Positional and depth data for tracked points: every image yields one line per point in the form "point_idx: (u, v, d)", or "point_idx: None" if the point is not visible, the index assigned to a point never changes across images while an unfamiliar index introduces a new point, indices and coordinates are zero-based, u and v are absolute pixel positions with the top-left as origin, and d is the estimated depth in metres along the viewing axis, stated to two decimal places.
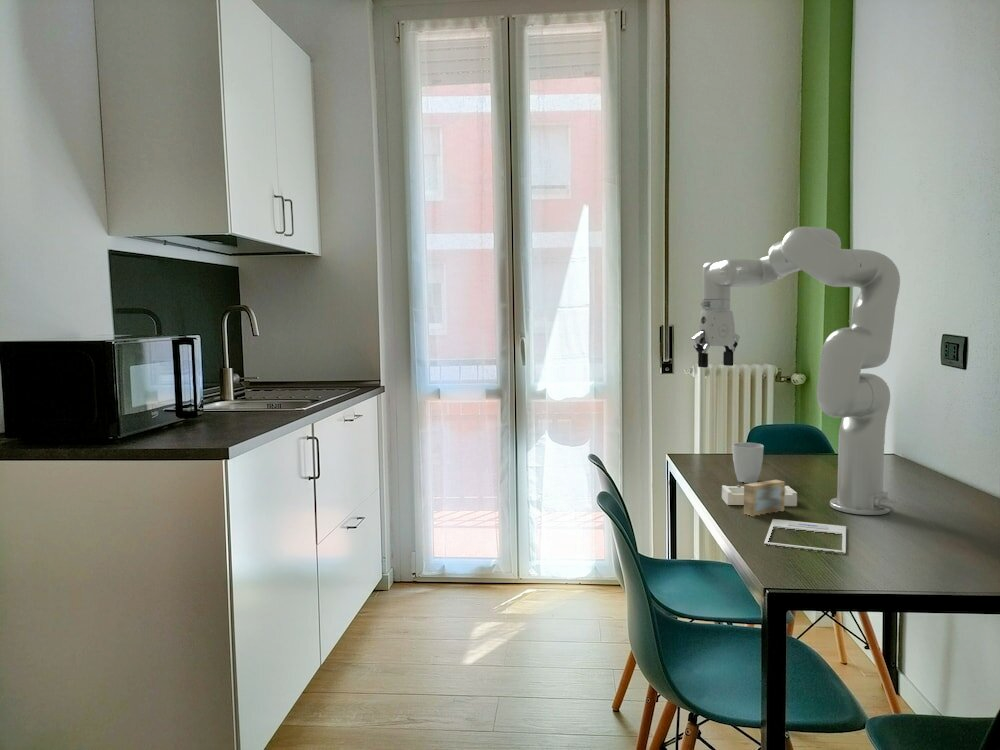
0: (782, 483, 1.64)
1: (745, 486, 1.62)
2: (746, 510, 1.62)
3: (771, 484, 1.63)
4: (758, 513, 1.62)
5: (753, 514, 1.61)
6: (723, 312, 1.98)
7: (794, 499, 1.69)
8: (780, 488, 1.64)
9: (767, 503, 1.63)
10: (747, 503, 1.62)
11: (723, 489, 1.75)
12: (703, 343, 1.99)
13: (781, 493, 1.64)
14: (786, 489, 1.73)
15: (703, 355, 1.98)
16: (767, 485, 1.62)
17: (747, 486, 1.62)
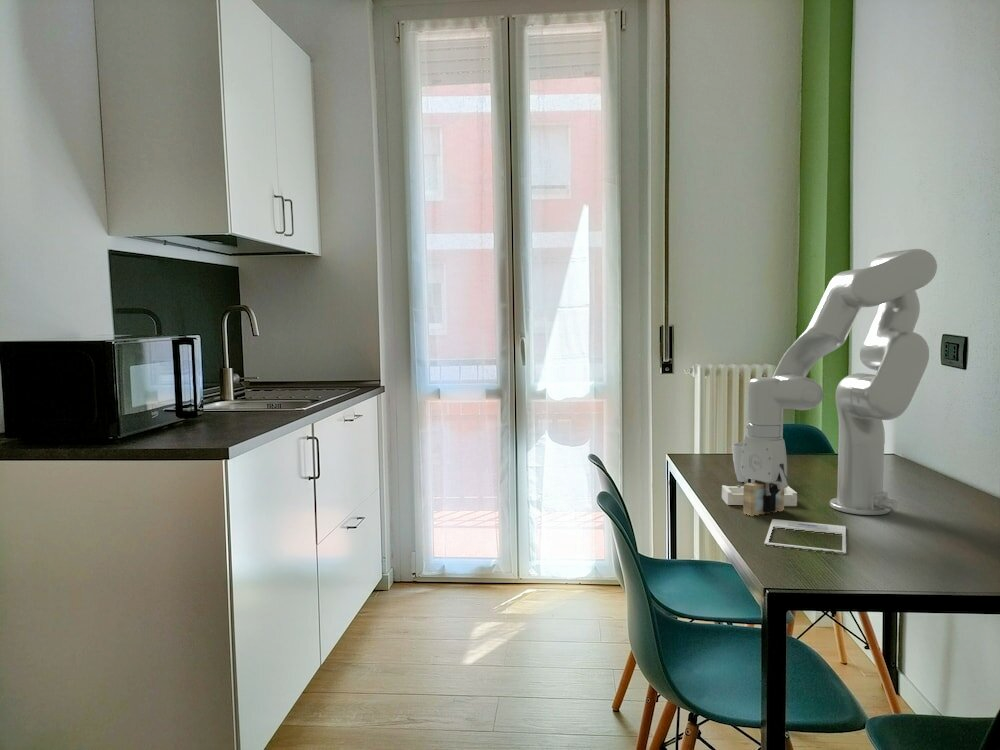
0: None
1: (745, 485, 1.62)
2: (746, 509, 1.62)
3: None
4: (758, 512, 1.62)
5: (753, 513, 1.61)
6: (756, 440, 1.62)
7: (794, 499, 1.69)
8: None
9: None
10: (747, 502, 1.62)
11: (723, 489, 1.75)
12: None
13: (781, 492, 1.64)
14: (786, 489, 1.73)
15: None
16: None
17: (746, 485, 1.62)
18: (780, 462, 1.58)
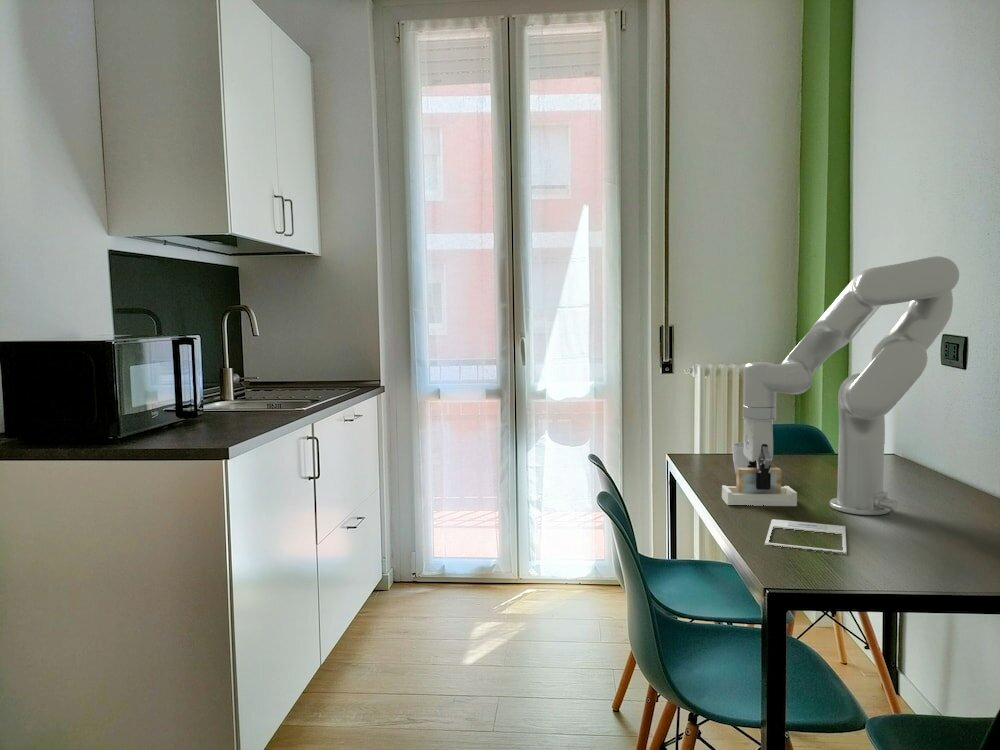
0: (778, 471, 1.71)
1: (736, 469, 1.74)
2: (737, 492, 1.74)
3: None
4: None
5: None
6: (748, 421, 1.72)
7: (794, 499, 1.69)
8: (776, 475, 1.71)
9: None
10: (737, 485, 1.73)
11: (723, 489, 1.75)
12: None
13: (777, 480, 1.71)
14: (786, 489, 1.73)
15: None
16: None
17: (737, 469, 1.73)
18: (763, 443, 1.67)
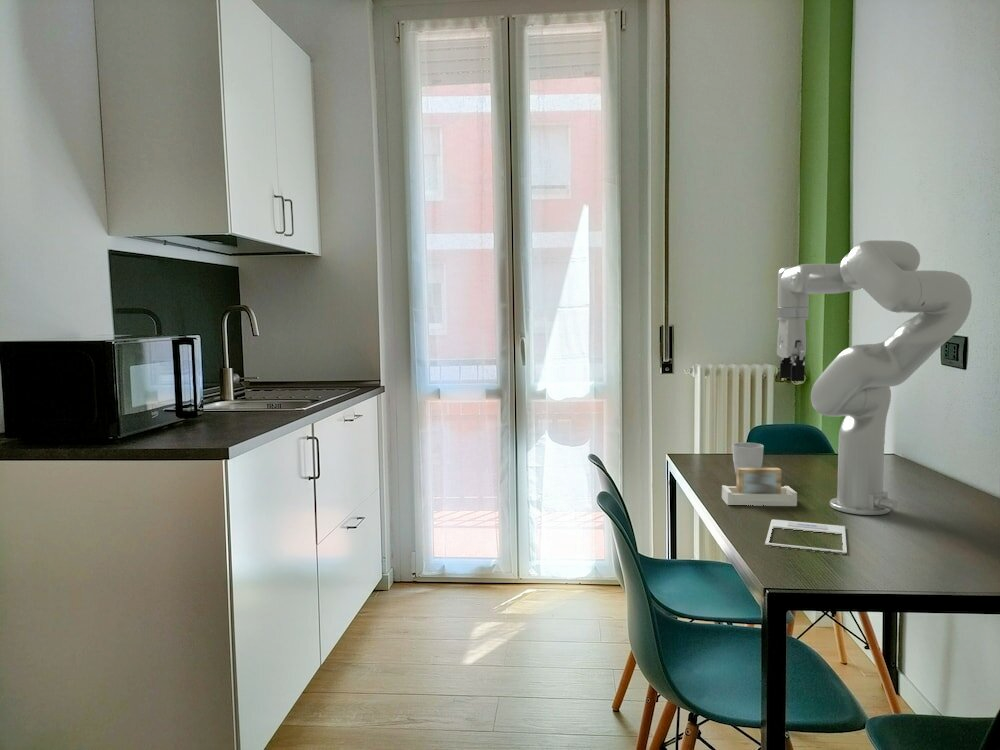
0: (778, 471, 1.71)
1: (736, 469, 1.74)
2: (737, 492, 1.74)
3: (764, 470, 1.71)
4: None
5: None
6: (782, 321, 1.86)
7: (794, 499, 1.69)
8: (775, 475, 1.71)
9: (758, 488, 1.72)
10: (737, 485, 1.73)
11: (723, 489, 1.75)
12: None
13: (777, 480, 1.71)
14: (786, 489, 1.73)
15: None
16: (758, 471, 1.71)
17: (737, 469, 1.73)
18: (797, 339, 1.81)
